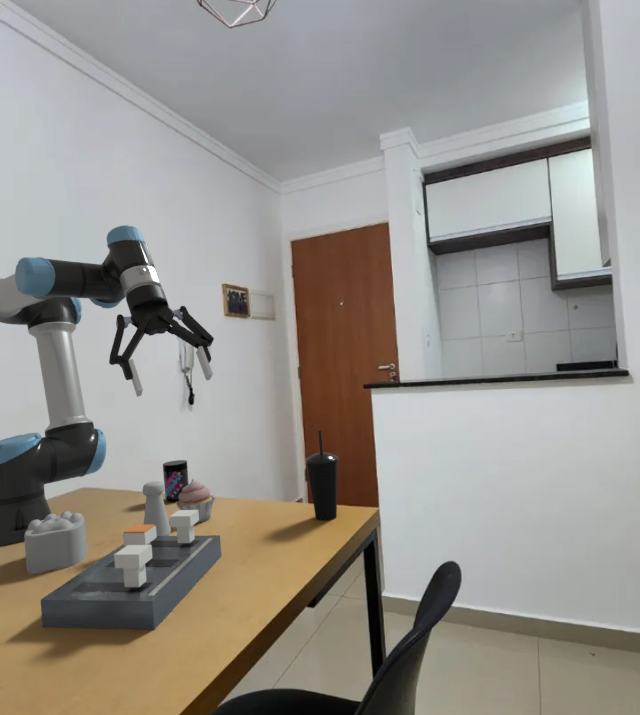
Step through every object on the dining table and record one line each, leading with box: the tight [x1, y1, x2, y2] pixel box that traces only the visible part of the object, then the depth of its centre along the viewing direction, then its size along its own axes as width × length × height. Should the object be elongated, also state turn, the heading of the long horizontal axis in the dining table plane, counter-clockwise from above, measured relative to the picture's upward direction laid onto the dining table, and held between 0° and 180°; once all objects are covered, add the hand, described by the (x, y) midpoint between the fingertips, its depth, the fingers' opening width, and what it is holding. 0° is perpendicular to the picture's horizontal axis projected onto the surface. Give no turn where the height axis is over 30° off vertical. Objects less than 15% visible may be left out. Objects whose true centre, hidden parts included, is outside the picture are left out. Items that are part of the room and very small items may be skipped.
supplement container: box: [162, 459, 190, 503], centre depth 136 cm, size 7×7×10 cm
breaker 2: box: [169, 509, 199, 543], centre depth 89 cm, size 4×4×5 cm
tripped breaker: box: [122, 524, 157, 546], centre depth 81 cm, size 4×4×6 cm
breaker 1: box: [114, 545, 152, 587], centre depth 72 cm, size 4×4×5 cm
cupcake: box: [174, 478, 216, 524], centre depth 116 cm, size 9×9×10 cm
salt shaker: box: [142, 480, 172, 536], centre depth 101 cm, size 6×6×13 cm
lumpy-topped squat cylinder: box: [24, 510, 88, 575], centre depth 98 cm, size 10×13×9 cm
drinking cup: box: [304, 430, 339, 522], centre depth 110 cm, size 8×8×20 cm
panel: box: [40, 534, 222, 630], centre depth 81 cm, size 18×25×4 cm
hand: (176, 385), depth 92 cm, fingers open, 13 cm apart
